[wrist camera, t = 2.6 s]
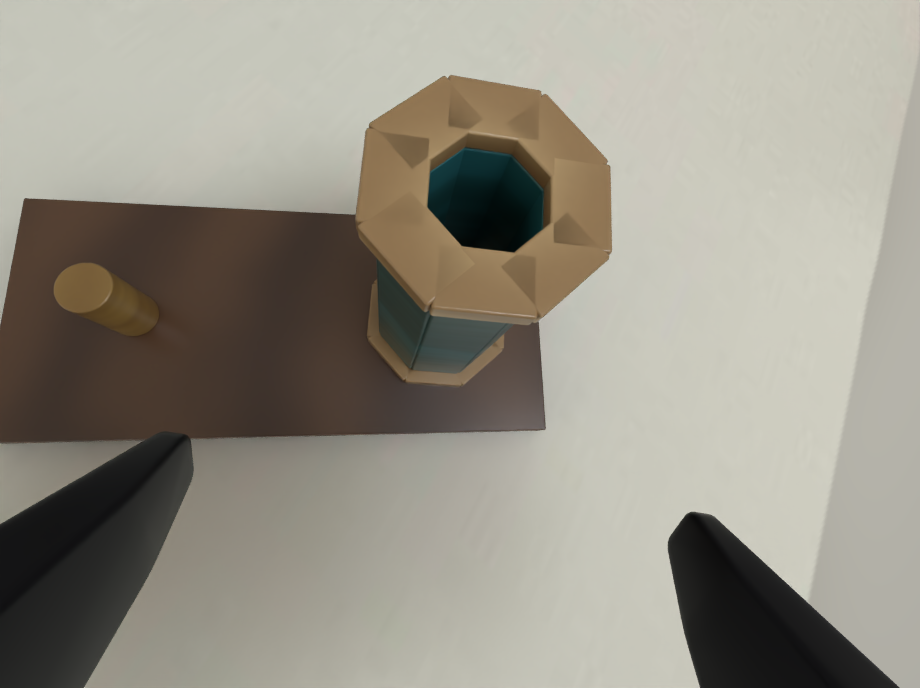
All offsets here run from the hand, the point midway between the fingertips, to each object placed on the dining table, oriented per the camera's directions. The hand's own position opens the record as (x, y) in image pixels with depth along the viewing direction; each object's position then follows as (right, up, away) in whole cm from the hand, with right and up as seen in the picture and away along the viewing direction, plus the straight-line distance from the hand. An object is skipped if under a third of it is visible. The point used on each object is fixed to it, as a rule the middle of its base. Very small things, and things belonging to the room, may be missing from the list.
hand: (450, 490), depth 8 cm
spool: (-1, +4, +13) cm, 13 cm away
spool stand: (-7, +4, +13) cm, 15 cm away
